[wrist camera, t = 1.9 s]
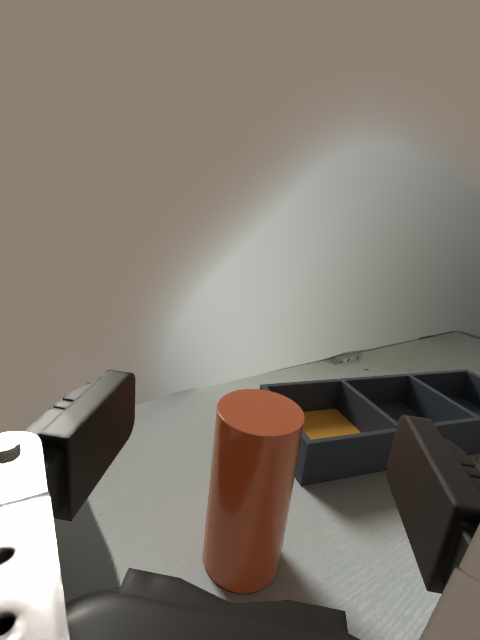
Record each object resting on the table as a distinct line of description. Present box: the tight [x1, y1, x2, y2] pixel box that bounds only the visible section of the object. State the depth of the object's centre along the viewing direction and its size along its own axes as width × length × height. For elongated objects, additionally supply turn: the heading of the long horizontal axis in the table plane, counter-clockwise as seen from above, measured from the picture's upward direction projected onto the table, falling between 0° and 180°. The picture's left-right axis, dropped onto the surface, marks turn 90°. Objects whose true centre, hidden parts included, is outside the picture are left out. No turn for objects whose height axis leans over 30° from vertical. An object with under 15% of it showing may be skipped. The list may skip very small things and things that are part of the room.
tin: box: [203, 389, 305, 594], centre depth 26 cm, size 6×6×12 cm
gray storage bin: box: [260, 369, 480, 485], centre depth 45 cm, size 32×11×4 cm, turn 109°
